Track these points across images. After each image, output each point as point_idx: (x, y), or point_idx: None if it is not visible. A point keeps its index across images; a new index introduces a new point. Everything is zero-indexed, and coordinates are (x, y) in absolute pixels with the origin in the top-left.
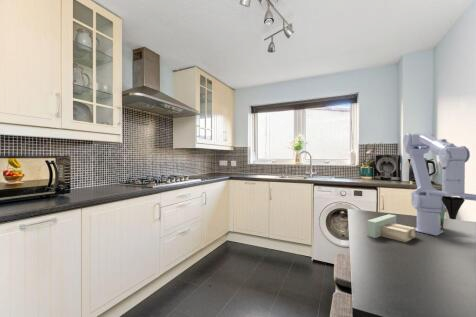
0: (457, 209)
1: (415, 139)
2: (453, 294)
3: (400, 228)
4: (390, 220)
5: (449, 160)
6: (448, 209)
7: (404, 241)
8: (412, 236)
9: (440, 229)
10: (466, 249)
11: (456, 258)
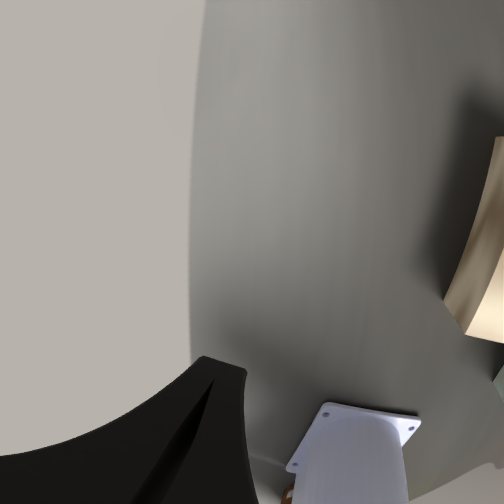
0: (107, 427)
1: None
2: None
3: None
4: None
5: None
6: (225, 450)
7: (501, 139)
8: (467, 260)
9: (293, 485)
10: (208, 237)
11: (260, 11)
